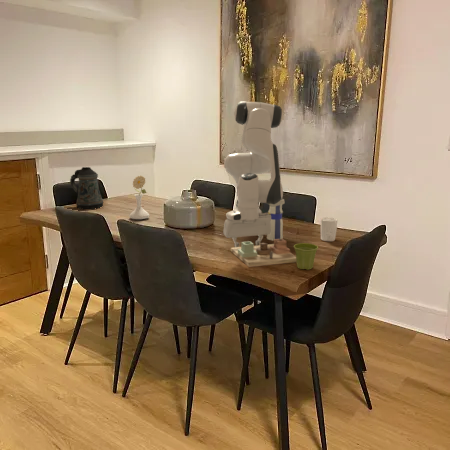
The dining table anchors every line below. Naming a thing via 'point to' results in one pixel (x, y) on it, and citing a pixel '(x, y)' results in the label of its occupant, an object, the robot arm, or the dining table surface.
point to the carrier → (268, 254)
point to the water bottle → (276, 221)
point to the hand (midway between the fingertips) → (247, 245)
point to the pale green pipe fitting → (247, 249)
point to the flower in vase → (139, 199)
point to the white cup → (328, 229)
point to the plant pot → (305, 255)
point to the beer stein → (87, 189)
